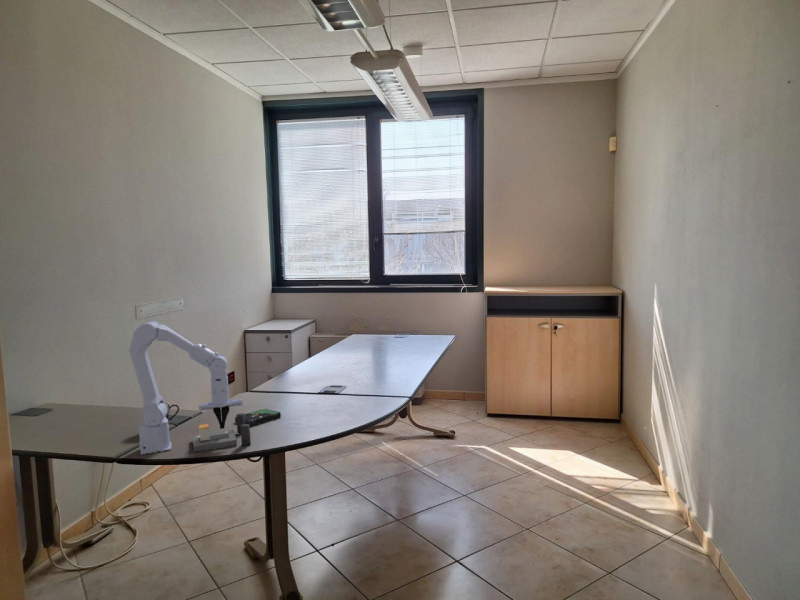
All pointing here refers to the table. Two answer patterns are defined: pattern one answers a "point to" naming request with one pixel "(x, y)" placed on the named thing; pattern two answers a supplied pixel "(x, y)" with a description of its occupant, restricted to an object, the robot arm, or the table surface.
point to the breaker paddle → (204, 432)
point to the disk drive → (260, 417)
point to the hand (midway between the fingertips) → (222, 427)
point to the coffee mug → (169, 409)
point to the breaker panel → (215, 440)
